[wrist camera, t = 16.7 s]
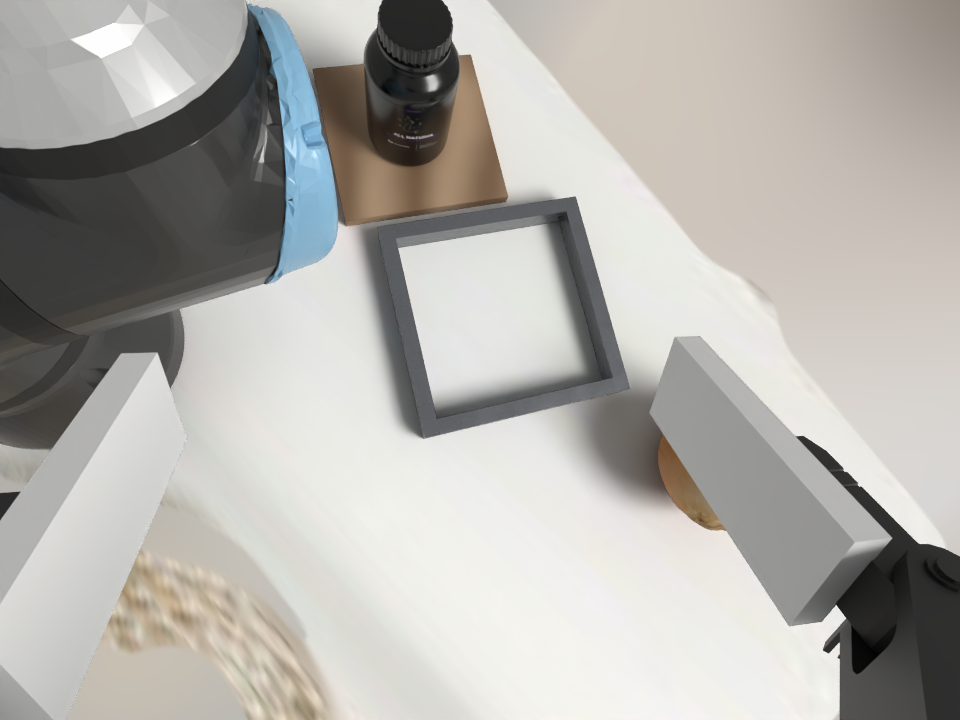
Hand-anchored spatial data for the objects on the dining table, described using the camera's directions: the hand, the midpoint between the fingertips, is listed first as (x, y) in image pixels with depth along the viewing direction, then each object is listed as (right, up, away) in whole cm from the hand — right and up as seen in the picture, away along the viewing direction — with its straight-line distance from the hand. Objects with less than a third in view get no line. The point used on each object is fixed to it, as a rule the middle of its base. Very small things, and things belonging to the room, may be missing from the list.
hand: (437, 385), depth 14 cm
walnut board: (-5, +20, +31) cm, 37 cm away
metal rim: (+3, +4, +30) cm, 30 cm away
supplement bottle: (-5, +20, +31) cm, 37 cm away
